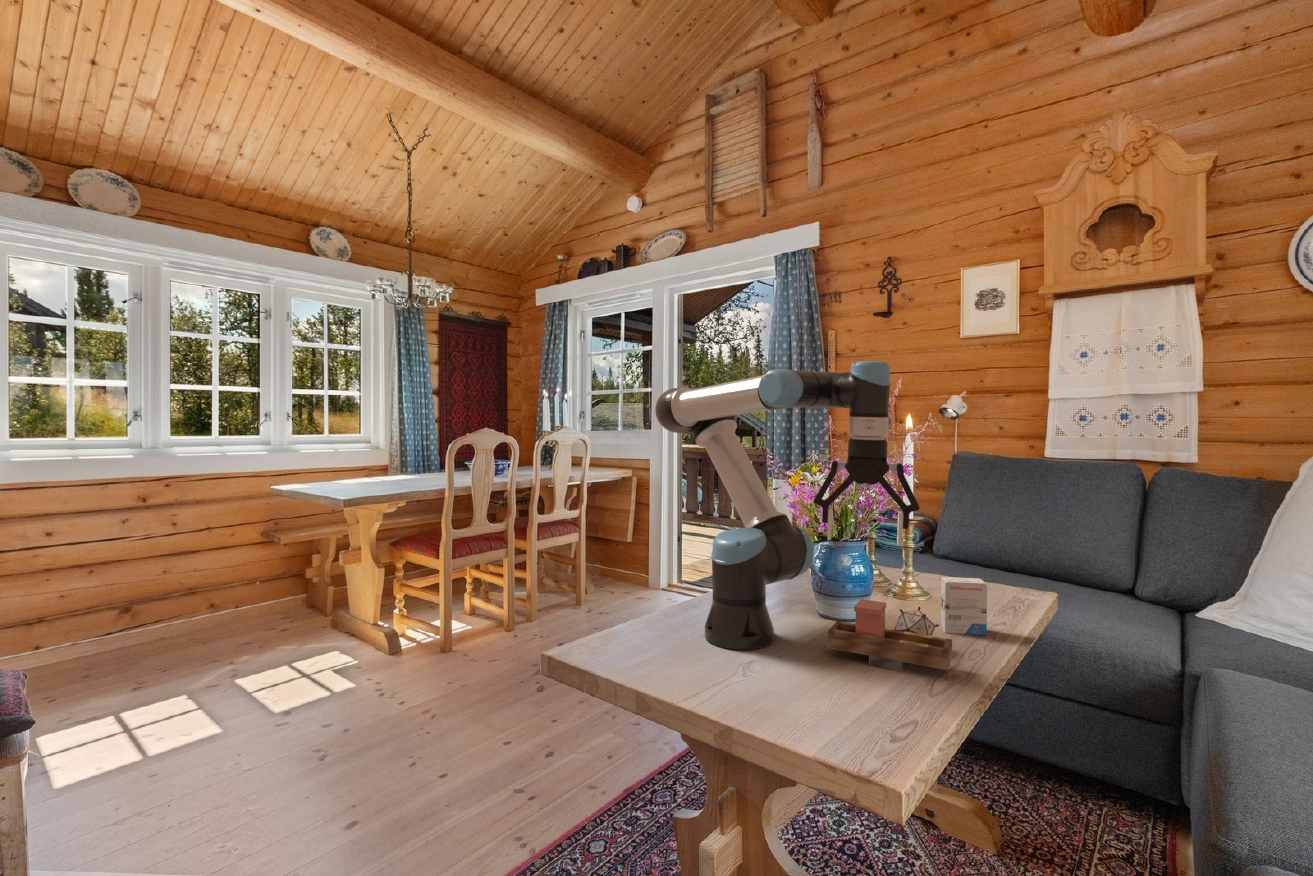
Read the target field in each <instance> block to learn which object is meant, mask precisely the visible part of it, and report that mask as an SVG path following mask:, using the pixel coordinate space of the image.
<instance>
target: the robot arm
mask: <svg viewBox="0 0 1313 876" xmlns="http://www.w3.org/2000/svg"><path fill="white" fill-rule="evenodd" d="M890 368H891V367H890V365H889V364H888V363H887V362H886V361H879V360H878V361H877V360H866V361H865V360H861V361H854V362H852V363H851V366H850V370H849V371H846V372H835V371H834V372H829V371H828V372H825V371H812V370H811V371H808V370H806V371H805V370H795V369H794V370H793V369H787V368H778V369H772V370H769V371H767V372H766V373H765V374H763V375H758V376H757V375H756V376H753V377H749V378H744V379H743V378H741V379H738V380H734V381H729V382H723V383H718V384H714V385H710V386H709V385H708V386H705V387H698V388H693V387H692V388H691V387H688V386H683V387H675V388H673V387H672V388H669V389H667V390H665V391H664V392H663V393H662V394H660V396H659V397H658V398H657V401H656V403H655V410H654V411H655V416H656V419H657V420H658V421H657V422H658V423H659V425H661V426H662V428H664V429H665V430H667V431H669V432H671V433H676V434H691V436H692V439H694V442H695V443H696V445H697V446H698V447H700V448H705V451H706V452H707V454H708V457H709V458H710V461H711V462H712V464H713V466H714V467H715V470H716V472H717V474H718V476H719V478H720V480H721V482H722V484H723V486H724V487H725V489H726V491H727V493H728V496H729V498H730V500H731V501H732V503H733V505H734V508H735V510H736V512H737V514H738V515H739V518H740V520H741V521H742V523H743V525H744V527H740V528H731V529H730V528H729V529H727V530H724V531H721V532H719V533H718V534H716V536H715V537H714V539H713V541H712V549H711V550H712V551H711V572H712V574H711V577H712V579H711V581H712V585H711V586H712V600H711V601H712V602H711V606H710V608H709V612H708V615H707V618H706V620H705V621H706V622H705V625H704V638H705V640H706V641H707V642H708V643H710V644H712V645H714V646H716V647H720V648H724V649H729V650H730V649H731V650H741V651H742V650H743V651H744V650H755V649H757V650H758V649H761V648H765V647H767V646H769V645H771V644H772V643H773V642H774V639H775V637H774V636H775V634H774V633H775V628H774V625H773V623H772V619H771V615H770V613H769V609H768V607H767V601H766V599H767V598H766V596H767V595H766V590H767V589H766V588H767V587H766V586H767V585H771V584H774V583H778V582H782V581H786V580H787V581H788V580H792V579H795V578H796V577H799V576H802V575H803V574H805V573H806V572H807V571H808V570H809V568H810V567H811V565H812V562H813V557H814V546H813V541H812V539H811V537H810V535H809V533H807V531H806V530H804V529H803V528H800V527H798V526H796V525H794V526H793V524H792V522H791V520H790V519H789V517H788V515H787V514H786V513H783V512H780V511H778V510H777V509H776V506H775V504H774V503H773V501H772V499H771V497H770V496H769V493H768V492H767V489H766V488H765V486H764V484H763V482H762V480H761V479H760V477H759V475H758V473H757V471H756V469H755V467H754V466H753V464H752V462H751V460H750V458H749V456H748V454H747V453H746V451H745V449H744V447H743V446H742V442H740V439H739V438H738V435H737V434H736V430H737V427H738V424H737V421H738V416H739V415H748V414H754V413H759V412H766V411H776V410H783V409H788V408H789V409H790V408H791V409H792V408H812V409H817V408H818V409H838V408H839V409H842V408H843V409H849V411H848V412H849V413H848V415H849V416H848V418H849V419H848V436H849V437H850V438H849V440H848V443H847V460H846V461H845V462H844V461H838V460H837V459H833V460H832V461H831V467H830V471H829V472H828V474H827V476H826V478H825V479H824V481H823V483H822V485H821V486H820V489H819V490H818V492H817V493H816V495H815V497H814V499H813V503H814V504H815V505H818V506H820V507H821V508H822V514H821V515H822V516H821V521H822V523H823V524H827V532H826V533H827V534H826V536H827V541H831V540H832V528H833V506H831V505H832V504H833V503H834V501H836V499H837V498H839V497H840V496H841V495H842V493H843V492H845V490H847V489H848V487H849V486H850V485H852V484H853V482H855V483H856V484H857V485H858V484H859V485H864V484H865V485H866V484H867V485H872V486H873V485H876V484H878V483H879V484H880V485H881V487H882V488H883V489H884V490H885V491H886V492H887V494H888V495H889V496H890V497H891V499H892V500H893V501H894V502H895V503H896V505H897V506H898V507H899V508H900V510H901V511H900V510H898V511H897V532H896V545H897V546H898V547H903V532H904V530H908V529H909V527H910V526H909V525H910V514H911V513H912V512H918V511H919V510H920V508H921V507H920V505H919V504H918V501H917V499H916V497H915V494H914V492H913V491H912V489H911V487H910V484H909V482H908V481H907V477H906V476H905V471H904V465H903V463H901V462H897V463H894V464H893V463H891V464H889V463H888V460H887V459H888V441H887V439H885V438H887V437H888V436H889V408H890V407H889V405H890V404H889V403H890V389H891V388H890V387H891V386H892V385H891V372H890V370H891V369H890ZM843 468H845V470H846V471H847V473H848V476H846V478H845V479H844V480H843V481H842V482H841V483H840V484H839V485H838V486H837V487H836V489H834V490H833V492H831V494H829V496H827V498H825V499H823V497H824V496H825V494H826V493H827V490H828V489H829V488H830V485H831V484H832V482H833V480H834V478H835V476H836V475H837V472H839V473H840V472H841V471H842V469H843ZM889 470H890V471H892V474H893V475H894V476H895V475H897V478H898V481H899V483H900V485H901V487H902V489H903V491H904V493H905V495H906V497H907V499H908V502H909V503H910V504H906V503H905V502H904V500H903V499H902V498H901V497H900V495H899V494H898V493H897V492H896V490H895V489H894V488H893V487H892V486H891V485H890V483H889V482H888V481H887V479H886V478H885V477H884V476H885V475H886V474H887V473H888V472H889ZM802 532H803V533H804V535H803V533H802Z"/></svg>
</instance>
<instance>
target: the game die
mask: <svg viewBox="0 0 1313 876" xmlns="http://www.w3.org/2000/svg"><path fill="white" fill-rule="evenodd" d="M899 612H900V613H901V614H900V616H898V620H897V623H896V625H895V628H894V630H895V631H901V632H910V633H917V634H923V635H929V636H932V637H933V633H934V631H935V628H939V627H940V626H941V624H938V623H937V624H935V623H933V622H932V621H931V619H929V617H928V616H927V615H926V613H923V612H922V611H921V606H918V607H917V610H916V609H915V610H914V609H913V610H909V611H903V609H902V608H899Z"/></svg>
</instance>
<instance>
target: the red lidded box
mask: <svg viewBox="0 0 1313 876" xmlns="http://www.w3.org/2000/svg"><path fill="white" fill-rule="evenodd" d="M886 609H887V602H884V601H877V600H870V599H863V598H860V599H859V600H858V601H857V602H856V604H855V605H853V611H854V612H855V624H856V633H860V634H866V635H872V636H878V637H884V638H885V629H886Z"/></svg>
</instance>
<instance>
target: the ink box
mask: <svg viewBox="0 0 1313 876" xmlns="http://www.w3.org/2000/svg"><path fill="white" fill-rule="evenodd" d="M940 585H941V586H940V589H941V591H940V592H941V594H940V595H941V596H940V598H941V601H940V603H941V604H940V606H941V609H940V611H941V613H940V616H941V617H940V619H941V620H940V626H941V629H942V630H943V632H944V633H946V634H956V635H957V634H958V635H971V636H972V635H973V636H987V635H988V634H987V631H988V629H987V627H988V626H987V621H988V617H987V616H988V615H987V614H988V613H987V612H988V610H987V609H988V584H987V583H986V582H985V581H984V579H982V578H980V577H979V578H978V577H977V578H975V577H956V576H955V577H952V576H950V577H949V576H941V583H940Z"/></svg>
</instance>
